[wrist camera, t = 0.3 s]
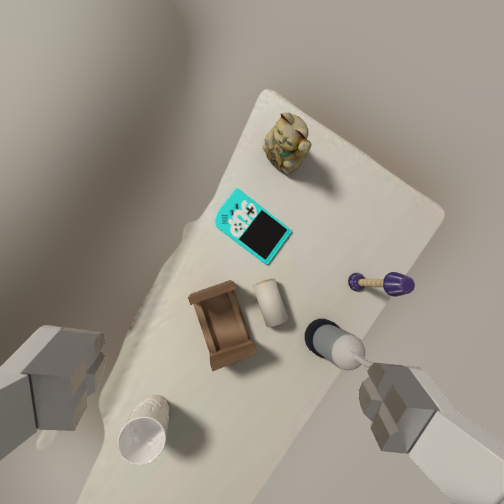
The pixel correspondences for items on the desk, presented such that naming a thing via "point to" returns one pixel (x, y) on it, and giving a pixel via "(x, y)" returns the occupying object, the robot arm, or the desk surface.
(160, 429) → the white cup
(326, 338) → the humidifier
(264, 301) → the roll
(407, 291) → the toy lamp
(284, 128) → the decorative figurine
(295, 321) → the desk surface
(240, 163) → the desk surface
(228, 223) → the handheld game console
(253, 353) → the holder
